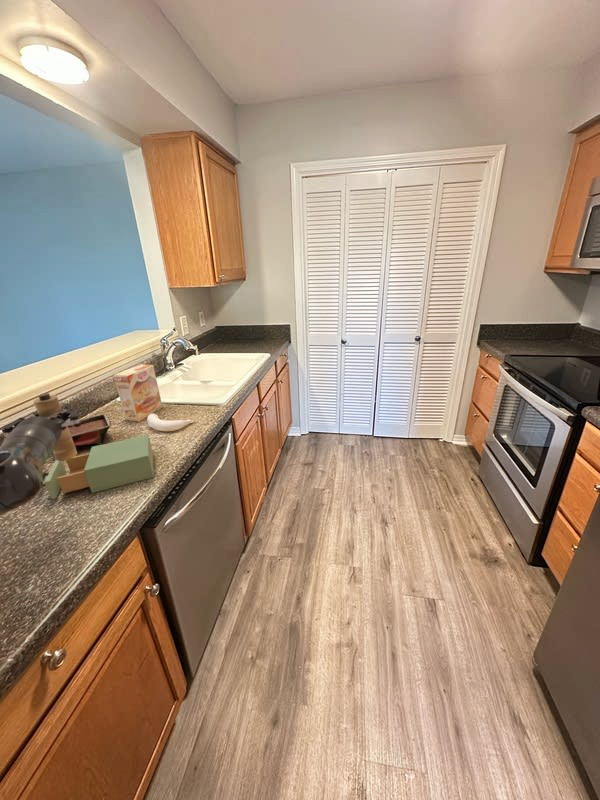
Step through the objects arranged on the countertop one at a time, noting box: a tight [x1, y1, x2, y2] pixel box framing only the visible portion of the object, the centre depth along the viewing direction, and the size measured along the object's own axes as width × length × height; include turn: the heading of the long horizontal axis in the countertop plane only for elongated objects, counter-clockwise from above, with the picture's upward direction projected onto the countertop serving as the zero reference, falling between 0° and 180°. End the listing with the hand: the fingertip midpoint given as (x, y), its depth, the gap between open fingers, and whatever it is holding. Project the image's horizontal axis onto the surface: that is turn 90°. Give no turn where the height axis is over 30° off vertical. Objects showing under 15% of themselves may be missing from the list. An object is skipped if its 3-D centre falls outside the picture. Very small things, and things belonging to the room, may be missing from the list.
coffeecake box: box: [113, 364, 163, 422], centre depth 134 cm, size 15×7×20 cm, turn 164°
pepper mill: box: [33, 392, 78, 461], centre depth 76 cm, size 4×4×16 cm
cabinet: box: [84, 434, 155, 494], centre depth 96 cm, size 16×14×7 cm
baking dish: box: [68, 413, 112, 447], centre depth 114 cm, size 14×18×10 cm
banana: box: [146, 413, 195, 432], centre depth 126 cm, size 5×19×15 cm
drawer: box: [42, 452, 90, 500], centre depth 91 cm, size 18×13×5 cm
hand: (54, 411), depth 77 cm, fingers closed on pepper mill, 4 cm apart
